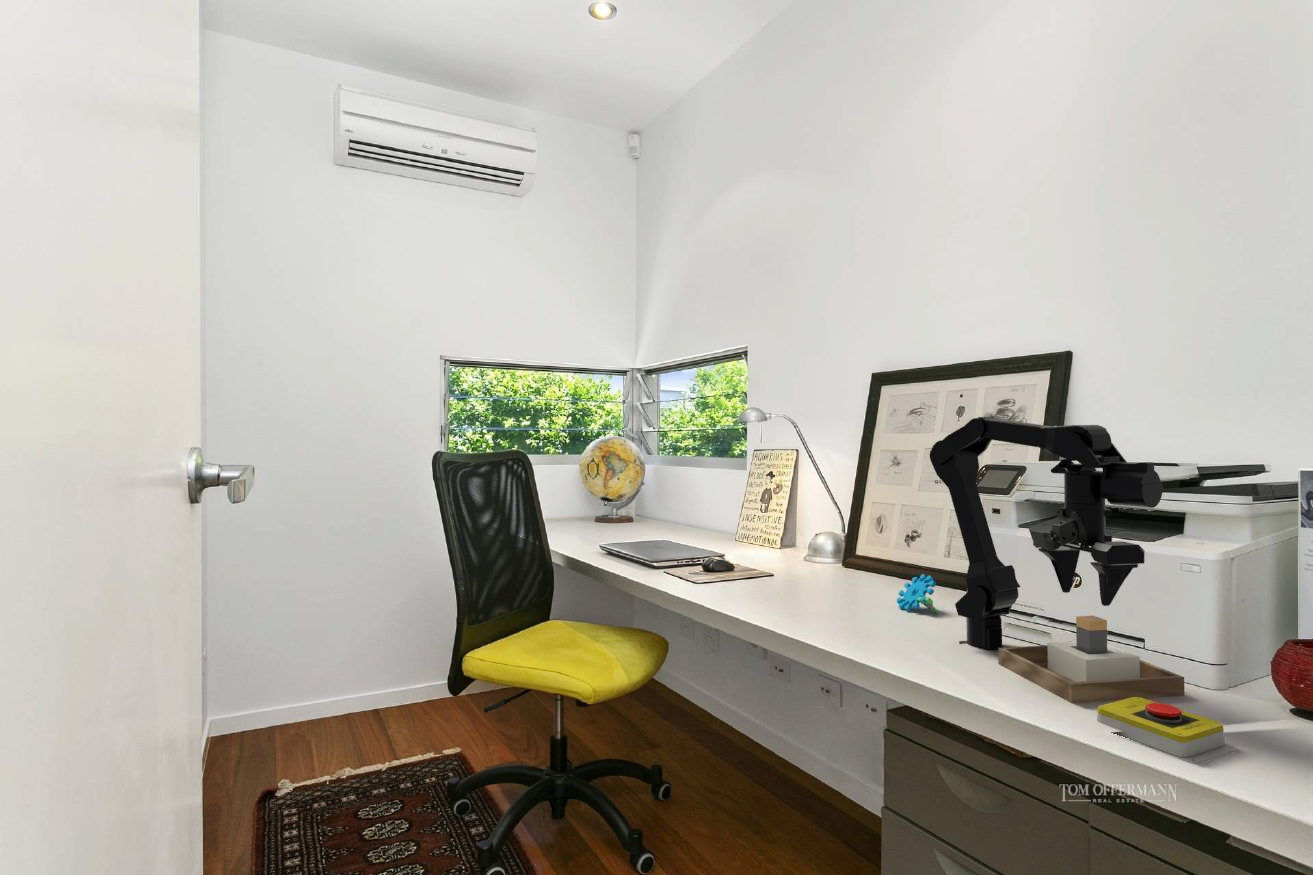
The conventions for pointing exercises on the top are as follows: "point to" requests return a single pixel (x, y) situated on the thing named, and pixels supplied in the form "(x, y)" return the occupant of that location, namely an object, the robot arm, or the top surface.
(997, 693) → the top surface
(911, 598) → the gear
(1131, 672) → the block
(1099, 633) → the plug
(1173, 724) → the emergency button
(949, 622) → the top surface
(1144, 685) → the walled box
